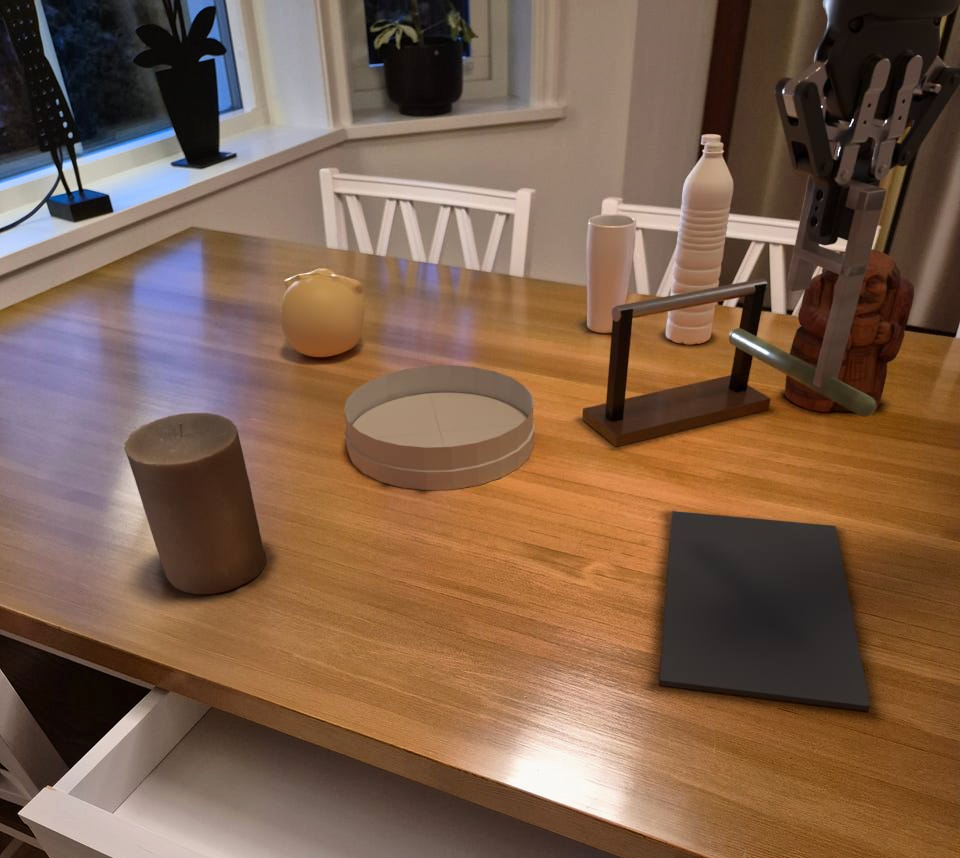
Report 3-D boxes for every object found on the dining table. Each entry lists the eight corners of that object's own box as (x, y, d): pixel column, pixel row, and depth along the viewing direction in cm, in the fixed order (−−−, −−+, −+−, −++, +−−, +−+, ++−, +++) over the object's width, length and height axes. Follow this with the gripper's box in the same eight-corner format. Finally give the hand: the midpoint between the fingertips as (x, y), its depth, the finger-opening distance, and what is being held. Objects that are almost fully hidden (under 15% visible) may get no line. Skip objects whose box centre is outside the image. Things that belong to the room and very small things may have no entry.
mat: (671, 515, 89) (672, 510, 88) (834, 530, 86) (835, 525, 86) (658, 685, 69) (659, 680, 69) (868, 711, 67) (870, 706, 66)
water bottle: (712, 345, 123) (743, 147, 107) (666, 344, 124) (690, 147, 108) (707, 323, 130) (735, 133, 113) (663, 322, 130) (685, 134, 114)
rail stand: (768, 409, 107) (794, 287, 97) (616, 447, 100) (627, 319, 91) (729, 385, 113) (749, 267, 103) (582, 419, 106) (589, 296, 96)
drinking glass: (576, 333, 128) (581, 224, 118) (588, 317, 132) (595, 212, 123) (620, 338, 126) (630, 228, 116) (632, 322, 130) (642, 215, 121)
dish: (351, 499, 92) (345, 457, 89) (343, 410, 109) (338, 372, 106) (553, 479, 95) (554, 438, 92) (515, 395, 111) (515, 358, 108)
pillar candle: (282, 543, 86) (253, 402, 76) (240, 602, 79) (203, 454, 69) (193, 533, 88) (154, 394, 78) (144, 589, 81) (95, 443, 71)
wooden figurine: (789, 412, 106) (824, 259, 95) (778, 391, 111) (810, 242, 99) (887, 413, 105) (934, 259, 94) (872, 391, 110) (915, 242, 99)
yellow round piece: (376, 335, 129) (368, 259, 122) (353, 367, 120) (343, 287, 113) (303, 332, 130) (291, 257, 123) (275, 363, 121) (260, 284, 114)
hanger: (878, 417, 61) (942, 205, 52) (861, 421, 61) (922, 208, 52) (738, 341, 72) (771, 155, 63) (723, 344, 72) (754, 158, 63)
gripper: (863, -88, 44) (790, 269, 55) (1056, -93, 48) (951, 240, 59) (768, -86, 49) (718, 239, 60) (948, -91, 53) (871, 215, 64)
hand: (834, 239), depth 59 cm, fingers closed on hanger, 1 cm apart
